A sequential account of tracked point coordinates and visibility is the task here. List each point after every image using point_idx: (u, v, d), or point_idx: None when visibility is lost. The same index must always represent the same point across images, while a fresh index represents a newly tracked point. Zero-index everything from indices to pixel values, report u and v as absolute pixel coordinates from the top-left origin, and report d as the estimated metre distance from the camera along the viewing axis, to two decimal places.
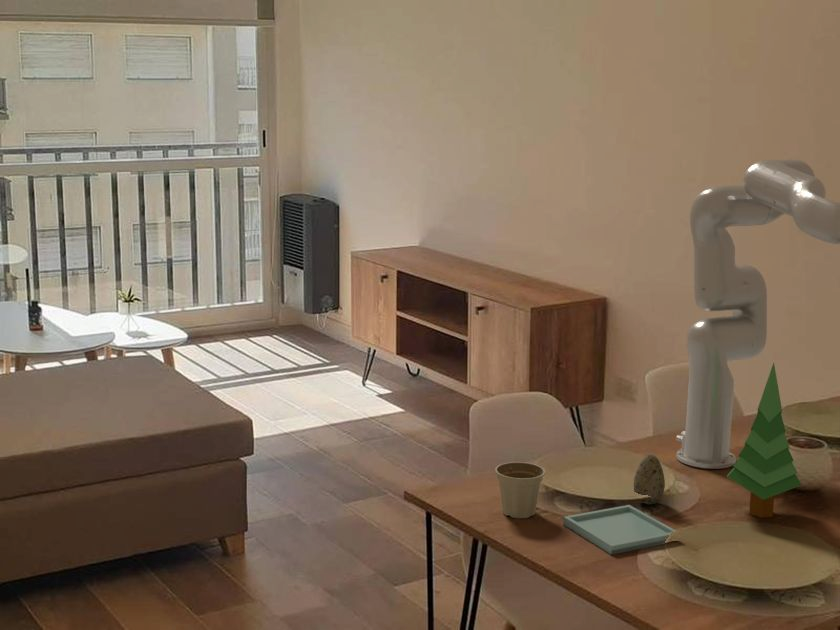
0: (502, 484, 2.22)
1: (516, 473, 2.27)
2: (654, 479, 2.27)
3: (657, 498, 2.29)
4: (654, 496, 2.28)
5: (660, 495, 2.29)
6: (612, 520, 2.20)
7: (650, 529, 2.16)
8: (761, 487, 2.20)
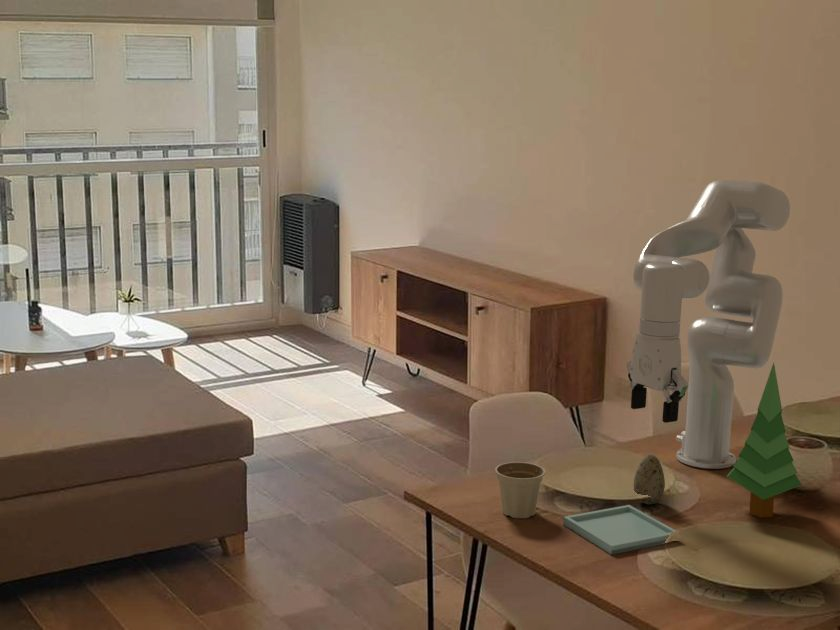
0: (502, 484, 2.22)
1: (516, 473, 2.27)
2: (654, 479, 2.27)
3: (657, 498, 2.29)
4: (654, 496, 2.28)
5: (660, 495, 2.29)
6: (612, 520, 2.20)
7: (650, 529, 2.16)
8: (761, 487, 2.20)
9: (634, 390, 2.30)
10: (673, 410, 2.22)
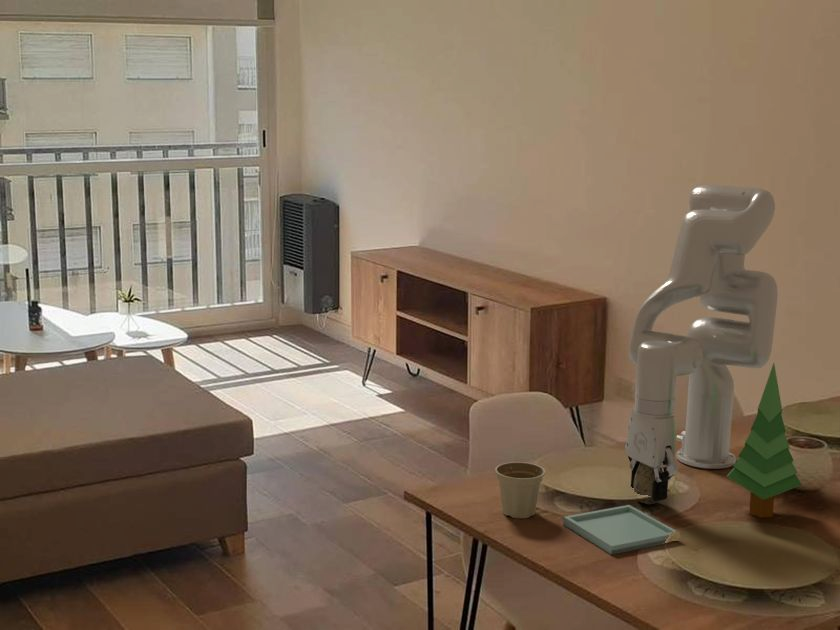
0: (502, 484, 2.22)
1: (516, 473, 2.27)
2: (654, 479, 2.27)
3: None
4: None
5: None
6: (612, 520, 2.20)
7: (650, 529, 2.16)
8: (761, 487, 2.20)
9: (634, 471, 2.32)
10: (662, 489, 2.26)
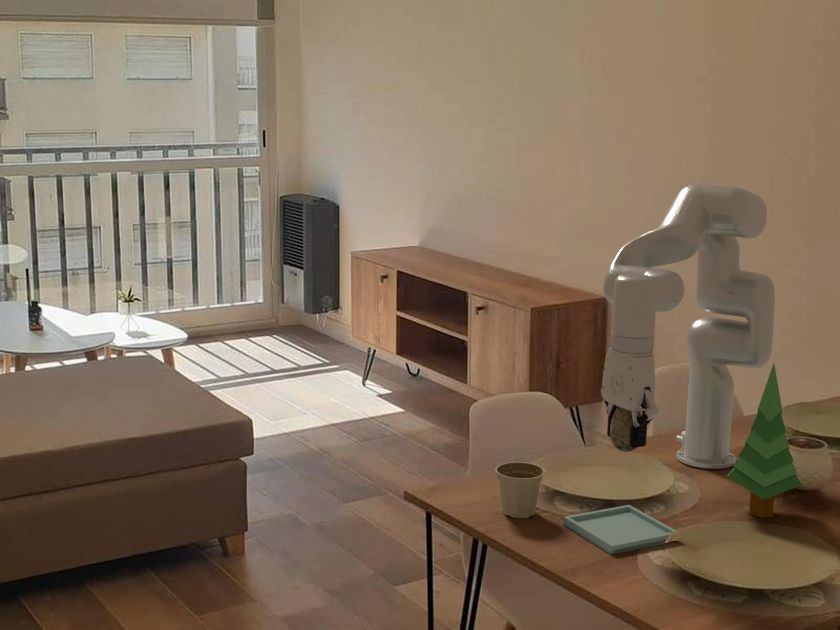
0: (502, 484, 2.22)
1: (516, 473, 2.27)
2: (631, 424, 2.09)
3: None
4: None
5: None
6: (612, 520, 2.20)
7: (650, 529, 2.16)
8: (761, 487, 2.20)
9: (610, 417, 2.14)
10: (641, 435, 2.08)
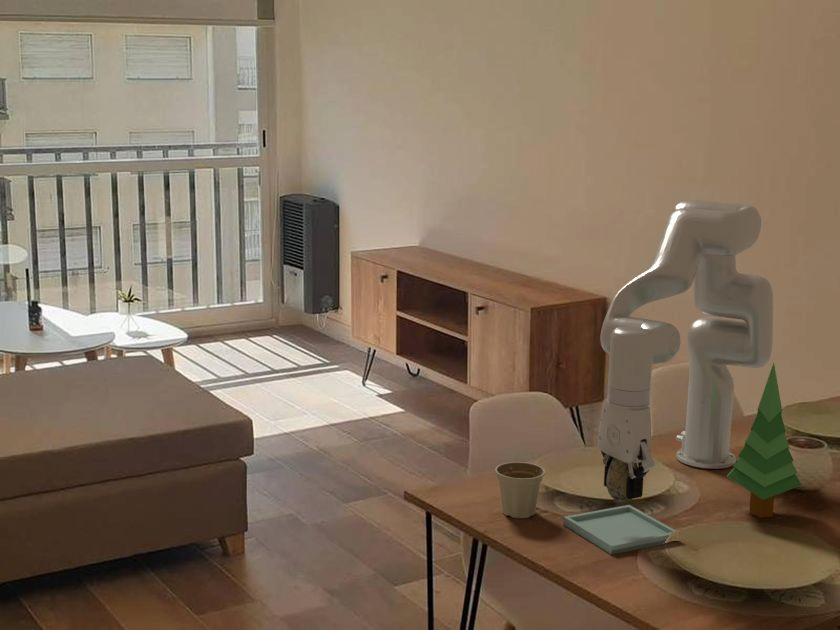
0: (502, 484, 2.22)
1: (516, 473, 2.27)
2: (628, 475, 2.11)
3: None
4: None
5: None
6: (612, 520, 2.20)
7: (650, 529, 2.16)
8: (761, 487, 2.20)
9: (607, 467, 2.16)
10: (637, 486, 2.10)
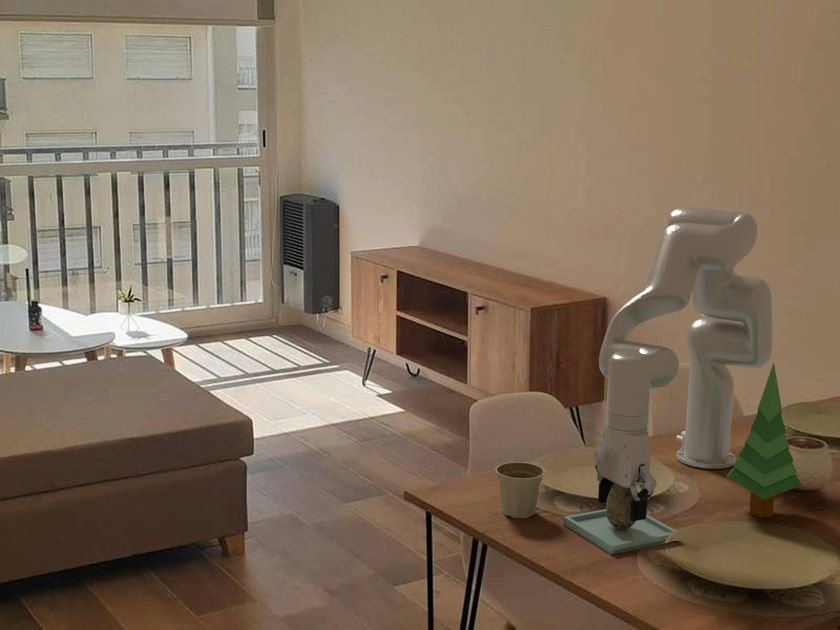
0: (502, 484, 2.22)
1: (516, 473, 2.27)
2: (627, 503, 2.12)
3: (631, 523, 2.13)
4: (627, 521, 2.13)
5: None
6: None
7: (650, 529, 2.16)
8: (761, 487, 2.20)
9: (601, 483, 2.18)
10: (641, 508, 2.10)
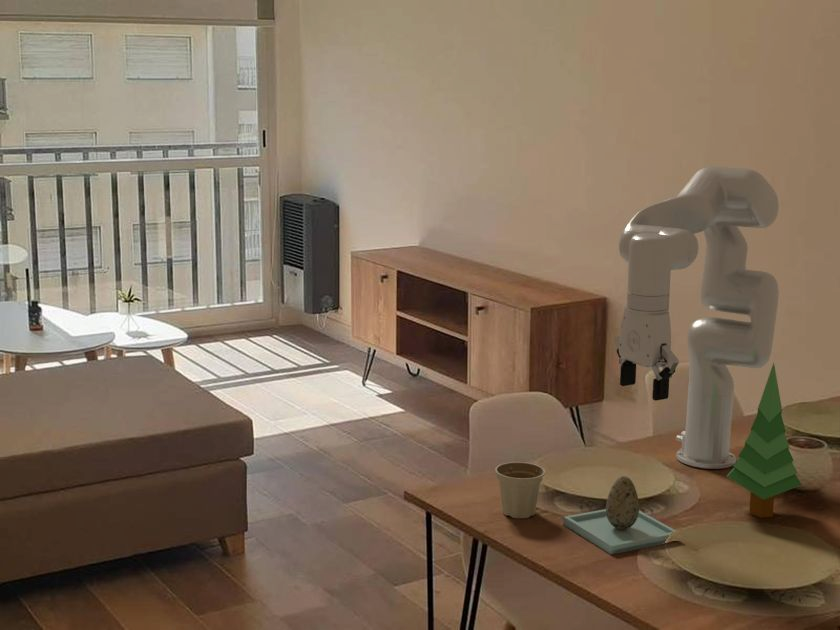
0: (502, 484, 2.22)
1: (516, 473, 2.27)
2: (627, 503, 2.12)
3: (631, 523, 2.13)
4: (627, 521, 2.13)
5: (634, 520, 2.14)
6: None
7: (650, 529, 2.16)
8: (761, 487, 2.20)
9: (623, 366, 2.21)
10: (663, 387, 2.12)
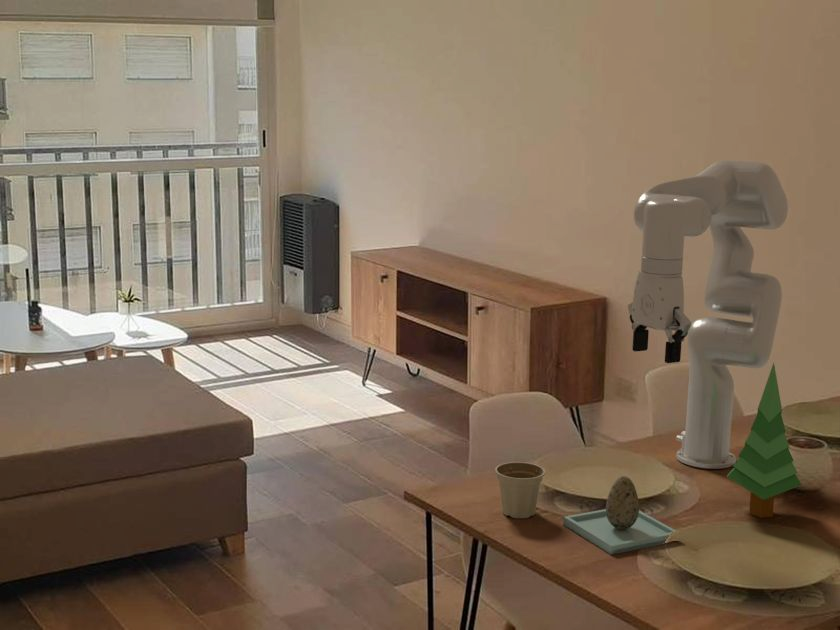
0: (502, 484, 2.22)
1: (516, 473, 2.27)
2: (627, 503, 2.12)
3: (631, 523, 2.13)
4: (627, 521, 2.13)
5: (634, 520, 2.14)
6: None
7: (650, 529, 2.16)
8: (761, 487, 2.20)
9: (636, 332, 2.25)
10: (676, 350, 2.17)
